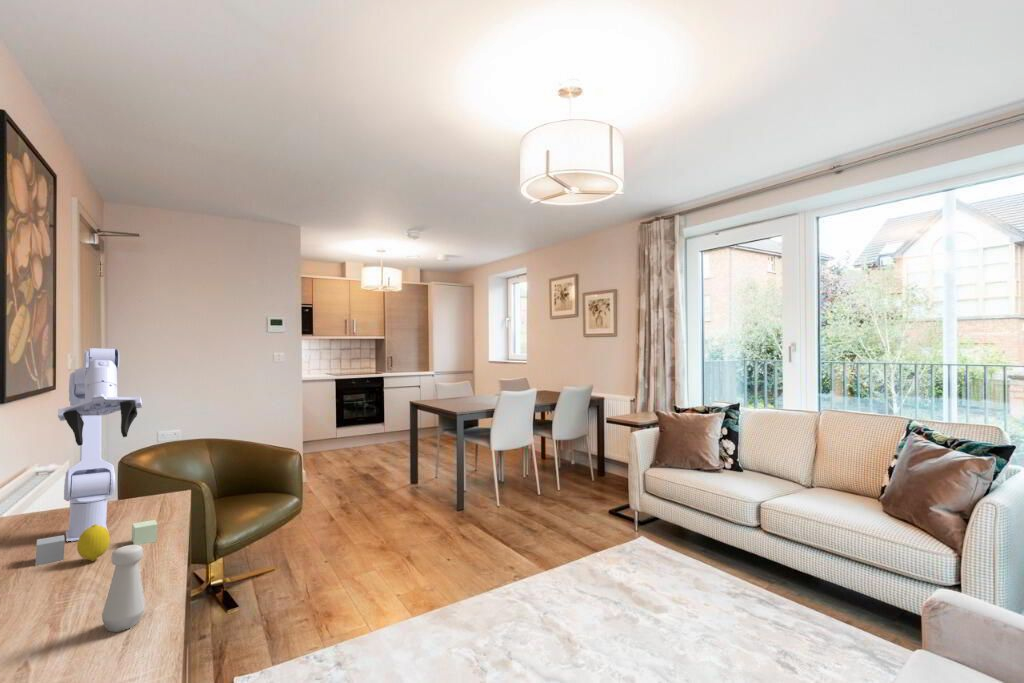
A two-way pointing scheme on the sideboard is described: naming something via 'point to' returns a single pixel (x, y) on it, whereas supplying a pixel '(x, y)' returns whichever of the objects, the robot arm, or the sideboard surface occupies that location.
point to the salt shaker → (125, 590)
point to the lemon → (93, 542)
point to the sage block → (144, 532)
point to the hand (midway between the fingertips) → (102, 438)
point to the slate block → (50, 550)
